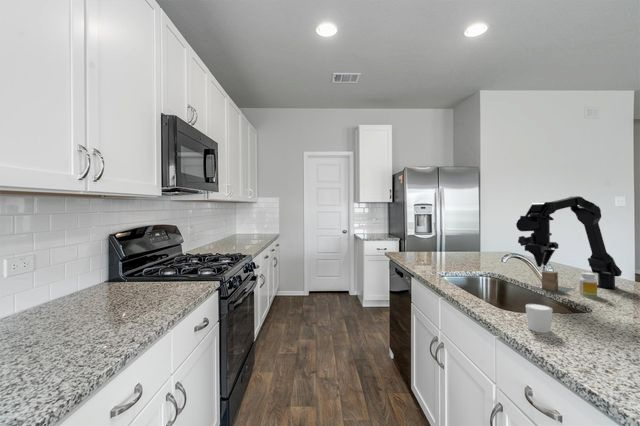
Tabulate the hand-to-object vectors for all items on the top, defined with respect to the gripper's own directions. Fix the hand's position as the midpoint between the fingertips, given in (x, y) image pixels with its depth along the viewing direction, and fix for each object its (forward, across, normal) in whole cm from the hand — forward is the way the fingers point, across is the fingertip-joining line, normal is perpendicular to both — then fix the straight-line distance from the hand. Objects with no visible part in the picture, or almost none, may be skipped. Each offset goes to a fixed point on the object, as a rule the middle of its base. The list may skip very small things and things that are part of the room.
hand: (542, 266), depth 130 cm
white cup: (+12, +45, +16) cm, 49 cm away
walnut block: (+12, -8, 0) cm, 14 cm away
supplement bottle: (+12, -10, +13) cm, 20 cm away
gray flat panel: (+12, -11, 0) cm, 16 cm away
